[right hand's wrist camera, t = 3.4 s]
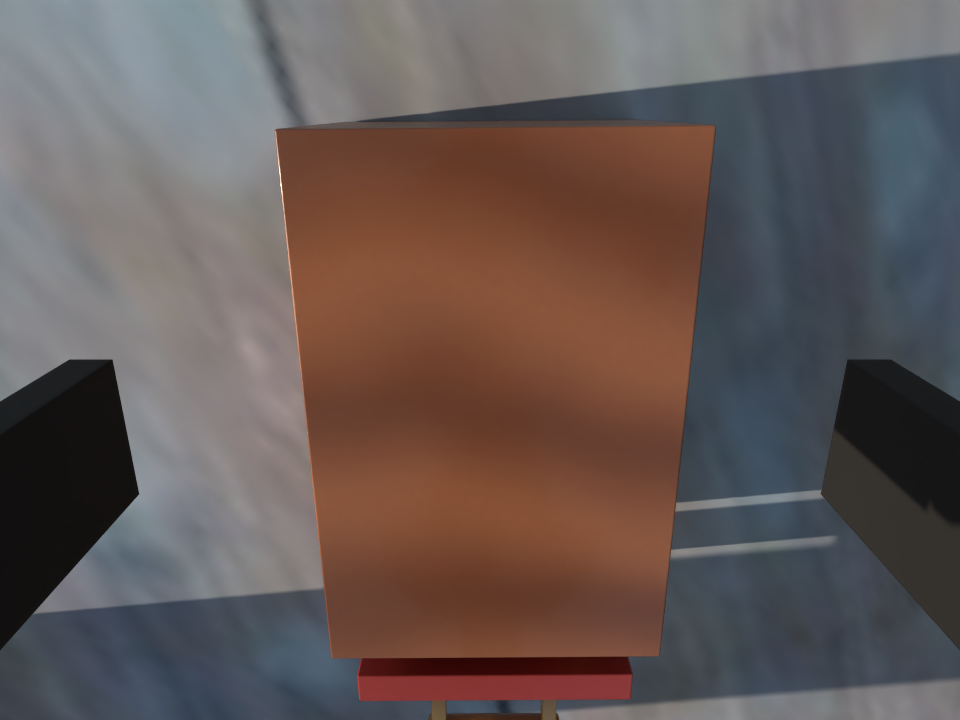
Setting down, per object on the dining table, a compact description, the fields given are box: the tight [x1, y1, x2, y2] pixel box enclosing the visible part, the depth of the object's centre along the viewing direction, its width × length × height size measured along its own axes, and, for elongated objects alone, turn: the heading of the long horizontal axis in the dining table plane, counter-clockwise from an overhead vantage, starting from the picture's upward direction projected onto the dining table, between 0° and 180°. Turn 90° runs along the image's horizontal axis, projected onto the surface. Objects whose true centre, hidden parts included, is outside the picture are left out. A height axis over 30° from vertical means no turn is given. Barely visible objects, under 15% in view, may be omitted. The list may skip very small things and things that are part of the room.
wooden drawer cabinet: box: [275, 119, 716, 658], centre depth 25 cm, size 17×11×9 cm, turn 0°
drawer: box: [357, 656, 633, 720], centre depth 27 cm, size 22×10×8 cm, turn 0°
